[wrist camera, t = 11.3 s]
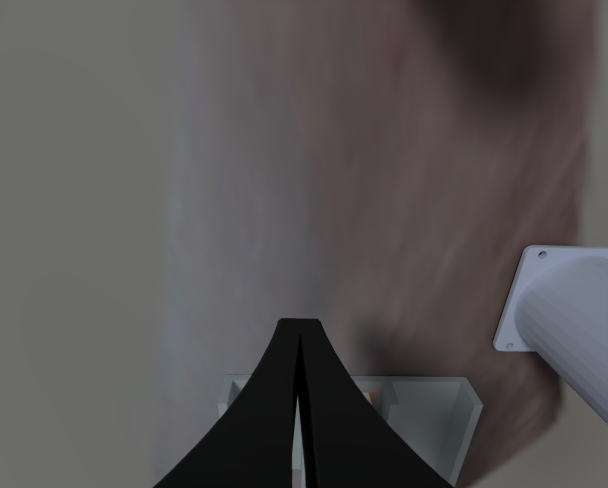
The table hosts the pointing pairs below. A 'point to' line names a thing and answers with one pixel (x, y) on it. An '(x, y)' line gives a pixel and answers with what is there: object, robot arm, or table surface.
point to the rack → (405, 416)
